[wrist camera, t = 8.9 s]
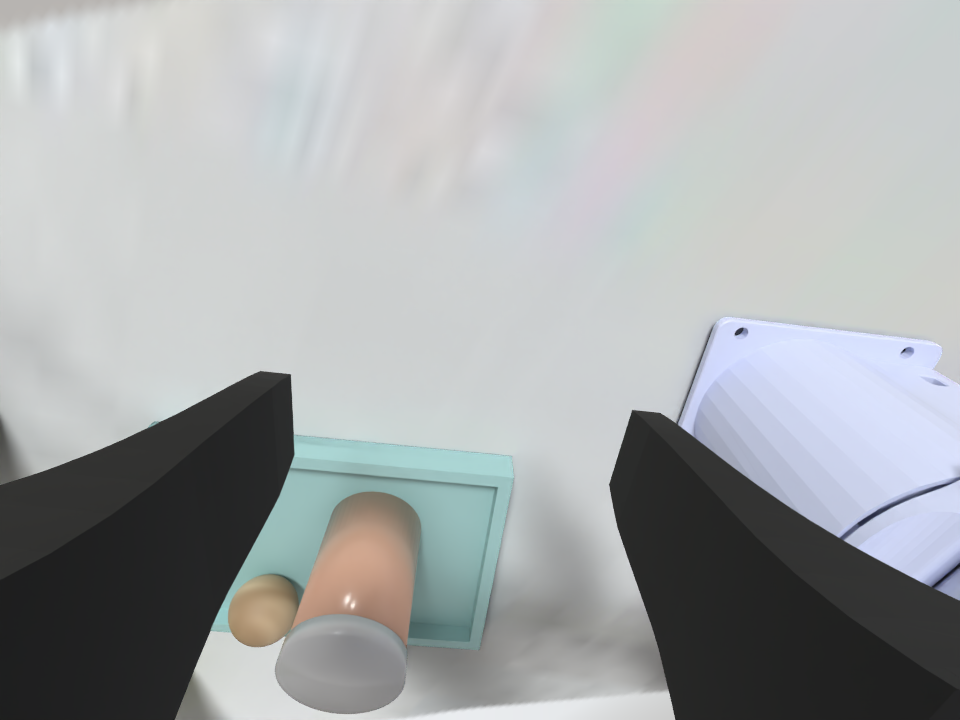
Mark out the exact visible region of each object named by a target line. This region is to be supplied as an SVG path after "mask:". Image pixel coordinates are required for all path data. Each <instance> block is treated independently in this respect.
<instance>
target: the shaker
mask: <svg viewBox="0 0 960 720" xmlns="http://www.w3.org/2000/svg"><path fill="white" fill-rule="evenodd" d="M420 537H421V522H420V518H419V516H418V514H417V513H416V511H415V510H414V509H413V508H412V507H411V506H410V505H409V504H408V503H407V502H405V501H404V500H402V499H400V498H398V497H396V496H394V495H391V494H387V493H383V492H374V491H372V492H361V493H357V494H353V495H351V496H349V497H347V498H345V499H343V500H342V501H341V502H340V503H338V504H337V506H336V507H335V508H334V510H333V512H332V514H331V517H330V520H329V523H328V525H327V528H326V531H325V534H324V537H323V540H322V543H321V545H320V548H319V551H318V554H317V557H316V560H315V563H314V565H313V568H312V571H311V574H310V577H309V580H308V583H307V585H306V588H305V591H304V594H303V597H302V600H301V603H300V605H299V608H298V611H297V614H296V617H295V620H294V623H293V625H292V628H291V631H290V632H289V633H288V634H287V636H286V638H285V640H284V643H283V645H282V648H281V651H280V654H279V657H278V659H277V662H276V666H275V675H276V679H277V681H278V683H279V685H280V686H281V688H282V689H283V690H284V691H285V692H286V693H287V694H288V695H289V696H290V697H292V698H293V699H294V700H296V701H298V702H299V703H301V704H303V705H306V706H308V707H311V708H313V709H317V710H320V711H324V712H329V713H337V714H356V713H364V712H369V711H373V710H376V709H379V708H382V707H384V706H386V705H388V704H389V703H391V702H392V701H394V700H395V699H396V698H397V697H398V696H399V694H400V693H401V692H402V690H403V688H404V684H405V678H406V669H407V661H408V654H407V650H406V648H407V640H408V632H409V624H410V616H411V608H412V600H413V592H414V584H415V576H416V568H417V560H418V553H419V545H420Z"/></svg>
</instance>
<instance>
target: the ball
mask: <svg viewBox="0 0 960 720" xmlns="http://www.w3.org/2000/svg"><path fill="white" fill-rule="evenodd" d="M298 608H299V599H298V594H297V592H296V589H295V588H294V586H293V585H292V584H291V583H290V582H289V581H288V580H287V579H285V578H284V577H282V576H279V575H275V574H265V575H260V576H257V577H254V578H252V579H250V580H249V581H247V582H246V583H245V584H243V585H242V586H241V587H240V588H239V589H238V591H237V592H236V593H235V595H234V597H233V598H232V601H231V603H230V606H229V610H228V624H229V628H230V630H231V632H232V634H233V636H234V637H235V638H236V639H237V640H238V641H239V642H241V643H243V644H244V645H247V646H251V647H264V646H268V645H271V644H273V643H275V642H277V641H278V640H280V639H281V638H283V637H284V636H285V635H286V634H287V633H288V631H289V630H290V629H291V628H292V625H293V623H294V620H295V617H296V614H297V611H298Z"/></svg>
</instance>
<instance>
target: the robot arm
mask: <svg viewBox="0 0 960 720" xmlns="http://www.w3.org/2000/svg"><path fill="white" fill-rule="evenodd" d="M742 327H744V328H743V331H742V333H741V334H739V335H735V332H736V330H737V329H739V328H742ZM905 348H906V350H905V351H904V352H903V353H901V352H902V350H903V349H905ZM941 355H942V347H941V346H940V345H938V344H936V343H934V342H932V341H927V340H919V339H910V338H902V337H894V336H885V335H877V334H868V333H860V332H851V331H843V330H834V329H826V328H818V327H809V326H801V325H792V324H784V323H775V322H767V321H758V320H750V319H742V318H733V317H725V318H722V319H720V320H719V321H718V322H716V324H715V325H714V327H713V330H712V332H711V335H710V338H709V341H708V343H707V346H706V349H705V352H704V354H703V357H702V360H701V363H700V365H699V368H698V371H697V374H696V376H695V379H694V382H693V385H692V387H691V390H690V393H689V396H688V398H687V401H686V404H685V407H684V409H683V412H682V415H681V418H680V420H679V423H678V425H677V424H676V423H675V422H673V421H672V420H670V419H669V418H667V417H666V416H664V415H662V414H661V413H655V412H646V411H636V410H632V413H631V416H630V419H629V422H628V426H627V429H626V432H625V435H624V439H623V442H622V445H621V448H620V451H619V455H618V458H617V461H616V464H615V468H614V471H613V474H612V477H611V480H610V484H609V486H610V492H611V497H612V503H613V508H614V513H615V518H616V522H617V527H618V530H619V533H620V536H621V539H622V542H623V545H624V548H625V551H626V554H627V557H628V560H629V562H630V565H631V568H632V571H633V574H634V577H635V580H636V582H637V585H638V588H639V591H640V594H641V597H642V599H643V602H644V605H645V608H646V611H647V614H648V617H649V619H650V622H651V625H652V628H653V632H654V635H655V638H656V641H657V645H658V648H659V652H660V656H661V660H662V664H663V668H664V673H665V677H666V681H667V685H668V689H669V693H670V697H671V702H672V706H673V710H674V715H675V720H960V385H959V384H958V383H956V382H954V381H952V380H951V379H949V378H947V377H945V376H944V375H942V374H940V373H939V372H937V371H935V370H933V369H934V367H935V365H936V364H937V362H938V360H939V359H940V357H941ZM294 455H295V452H294V432H293V411H292V391H291V374H282V373H273V372H263V371H260V372H258V373H255V374H253V375H251V376H249V377H247V378H245V379H243V380H241V381H239V382H237V383H235V384H233V385H231V386H229V387H227V388H226V389H224V390H222V391H220V392H218V393H216V394H214V395H212V396H211V397H209V398H207V399H205V400H203V401H201V402H199V403H197V404H195V405H193V406H191V407H190V408H188V409H186V410H184V411H182V412H180V413H178V414H176V415H174V416H172V417H170V418H168V419H166V420H164V421H161V422H159V423H157V424H155V425H153V426H151V427H149V428H147V429H145V430H143V431H141V432H138V433H136V434H134V435H132V436H130V437H128V438H126V439H124V440H121V441H119V442H117V443H114V444H112V445H110V446H107V447H105V448H103V449H100V450H98V451H95V452H93V453H91V454H88V455H85V456H83V457H80V458H78V459H75V460H72V461H70V462H67V463H65V464H62V465H60V466H57V467H54V468H51V469H49V470H46V471H43V472H40V473H37V474H34V475H31V476H28V477H25V478H22V479H19V480H16V481H13V482H9V483H6V484H3V485H0V720H175V717H176V715H177V712H178V710H179V707H180V705H181V702H182V700H183V697H184V694H185V692H186V689H187V687H188V684H189V682H190V679H191V677H192V674H193V672H194V669H195V667H196V664H197V662H198V659H199V657H200V655H201V652H202V650H203V647H204V645H205V643H206V640H207V638H208V635H209V633H210V631H211V628H212V626H213V623H214V621H215V619H216V616H217V614H218V612H219V610H220V608H221V606H222V604H223V602H224V600H225V598H226V596H227V594H228V592H229V590H230V588H231V586H232V584H233V582H234V580H235V579H236V577H237V575H238V573H239V571H240V569H241V567H242V566H243V564H244V562H245V560H246V558H247V556H248V554H249V553H250V551H251V549H252V547H253V545H254V543H255V541H256V540H257V538H258V536H259V534H260V532H261V530H262V528H263V527H264V525H265V523H266V521H267V519H268V517H269V515H270V513H271V511H272V510H273V508H274V506H275V504H276V502H277V500H278V498H279V496H280V493H281V491H282V488H283V485H284V483H285V480H286V478H287V475H288V472H289V469H290V466H291V464H292V461H293V458H294Z"/></svg>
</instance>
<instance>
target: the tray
mask: <svg viewBox="0 0 960 720" xmlns="http://www.w3.org/2000/svg"><path fill="white" fill-rule="evenodd" d="M157 423H159V422H153V423H152V424H151V425H150V426H149V427H151V426H153V425H155V424H157ZM149 427H148V428H149ZM294 452H295V455H294V458H293V461H292V464H291V466H290V469H289V472H288V475H287V478H286V480H285V483H284V485H283V488H282V491H281V493H280V496H279V498H278V500H277V502H276V504H275V506H274V508H273V510H272V511H271V513H270V515H269V517H268V519H267V521H266V523H265V525H264V527H263V528H262V530H261V532H260V534H259V536H258V538H257V540H256V541H255V543H254V545H253V547H252V549H251V551H250V553H249V554H248V556H247V558H246V560H245V562H244V564H243V566H242V567H241V569H240V571H239V573H238V575H237V577H236V579H235V580H234V582H233V584H232V586H231V588H230V590H229V592H228V594H227V596H226V598H225V600H224V602H223V604H222V606H221V608H220V610H219V612H218V614H217V616H216V619H215V621H214V623H213V626H212V628H211V631H218V632H231V630H230V628H229V624H228V610H229V606H230V603H231V601H232V598H233V597H234V595H235V593H236V592H237V591H238V589H239V588H240V587H241V586H242V585H243V584H245V583H246V582H247V581H249V580H250V579H252V578H254V577H257V576H260V575H265V574H275V575H279V576H282V577H284V578H285V579H287V580H288V581H289V582H290V583H291V584H292V585H293V586H294V588H295V589H296V592H297V594H298V599H299V605H300V603H301V600H302V597H303V594H304V591H305V588H306V585H307V583H308V580H309V577H310V574H311V571H312V568H313V565H314V563H315V560H316V557H317V554H318V551H319V548H320V545H321V543H322V540H323V537H324V534H325V531H326V528H327V525H328V523H329V520H330V517H331V514H332V512H333V510H334V508H335V507H336V506H337V504H338V503H340V502H341V501H342V500H343V499H345V498H347V497H349V496H351V495H353V494H357V493H361V492H372V491H374V492H383V493H387V494H391V495H394V496H396V497H398V498H400V499H402V500H404V501H405V502H407V503H408V504H409V505H410V506H411V507H412V508H413V509H414V510H415V511H416V513H417V514H418V516H419V518H420V522H421V537H420V545H419V553H418V560H417V568H416V576H415V584H414V592H413V600H412V608H411V616H410V624H409V632H408V640H407V645H414V646H428V647H442V648H456V649H470V650H479V649H480V644H481V639H482V634H483V629H484V624H485V619H486V614H487V609H488V604H489V599H490V594H491V589H492V584H493V579H494V574H495V569H496V564H497V559H498V554H499V549H500V544H501V539H502V534H503V529H504V524H505V519H506V514H507V509H508V504H509V499H510V494H511V489H512V484H513V479H514V475H513V465H512V456H504V455H494V454H483V453H473V452H463V451H452V450H442V449H432V448H422V447H411V446H401V445H391V444H380V443H370V442H360V441H349V440H339V439H329V438H318V437H308V436H298V435H294ZM290 631H291V629H290V630H289V631H288V633H289V632H290ZM288 633H287V634H288ZM287 634H286V635H285V636H287Z"/></svg>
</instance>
